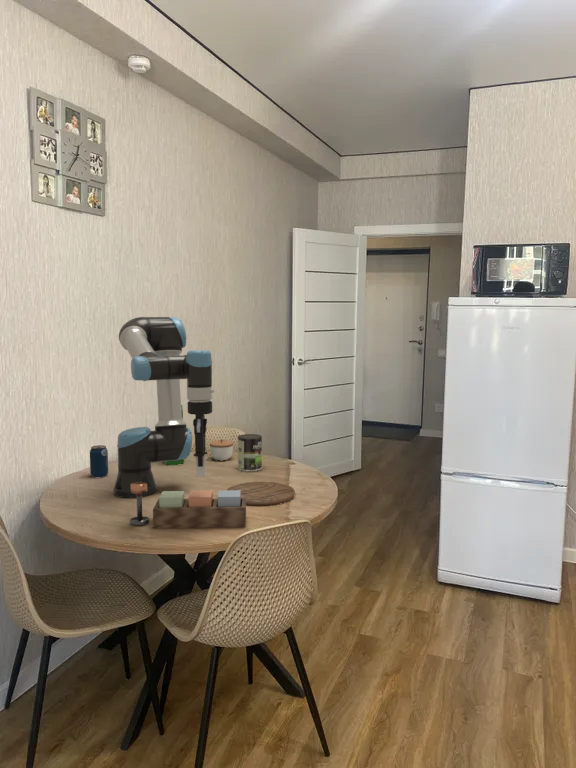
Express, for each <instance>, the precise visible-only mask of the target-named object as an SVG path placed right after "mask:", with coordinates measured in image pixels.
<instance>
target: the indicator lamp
mask: <svg viewBox="0 0 576 768" xmlns="http://www.w3.org/2000/svg"><path fill="white" fill-rule="evenodd" d="M146 492H147V483H146V482H135V483H132V484H131V493H132V494H137V497H136V516H135V517H132V518H131V519H130V520H129V525H130V526H132V527H133V526H134V527H143V526H147V525H149V524H150V522H151V521H150V517H148V516H143V497H142V494H143V493H146Z"/></svg>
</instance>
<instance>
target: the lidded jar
mask: <svg viewBox="0 0 576 768" xmlns="http://www.w3.org/2000/svg"><path fill="white" fill-rule="evenodd" d="M233 450H234V442H233V441H231V440H227V439H226V440H224V439H223V438H220V439H219V440H213V441H210V442H209V452H210V454H211V457H212V458H213V459H214V460H215V461H217V460H220V461H219V462H223V460H226V461H228V460H229V459H230V458H231V457H232V455H233V452H234V451H233Z"/></svg>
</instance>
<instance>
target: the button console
mask: <svg viewBox="0 0 576 768" xmlns="http://www.w3.org/2000/svg"><path fill="white" fill-rule="evenodd" d="M152 520H153V521H152V522H153V523H152V525H153V527H152V528H153V529H191V528H202V529H203V528H246V525H247V505H246V498H241V504H240V507H218V497H214V498H213V504H212V507H189V498H185V503H184V506H183V507H181V508H159V498H158V499H157V501H156V503H155V504H154V506H153V509H152Z"/></svg>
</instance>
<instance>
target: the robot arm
mask: <svg viewBox="0 0 576 768" xmlns="http://www.w3.org/2000/svg"><path fill="white" fill-rule="evenodd" d="M118 341H119V344H120V345H121V347H122V348H123V349H124V350H126V351H127V352H128V353H129V355H130V358H131V362H130V372H131V373H130V374H131V377H132V379H133V380H134V381H142V382H147V381H156V395H157V411H158V412H157V414H158V415H157V417H158V421H157V423H156V424H155V425H154V430H151V428H150V427H148V426H138V427H132V428H129V429H125V430H122V431H121V432H120V433H119V434H118V435H117V445H116V446H117V467H118V469H117V470H118V471H117V475H116V479H115V482H114V486H113V495H114V496H117V497H121V498H129V499H130V498H132V499H133V498H137V494H132V493H131V484H132V483H135V482H146V483H147V492H146V493H143V494H142V498H143V497H147V496H150V495H153V494H155V493H156V492H157V483H156V480H155V477H154V475H153V471H152V463H160V462H161V463H162V462H166V461H173V460H175V461H177V460H181V459H184V460H185V459H187V458H188V457H190V454H191V451H192V446H193V435H194V448H195V450H194V451H195V452H194V453H193V457H195V465H196V467H195V474H196V477H201V478H202V477H206V455H208V451H206V449H207V448H206V433H207V423H208V419H207V418H205V417H206V416H205V415H210V414H211V413H213V401H212V399H213V393H214V392H215V391H214V389H212V388H213V387H212V385H213V378H212V377H213V373H212V372H213V368H212V367H213V365H212V364H213V359H212V353H211V351H210V350H206V349H203V350H202V349H199V350H198V349H190V350H188V351H187V352H186V354H184V355H181V354H182V352H183V348H185V347H186V346H187V332H186V328H185V326H184V323H183V321H182V320H181V319H180V318H179V317H173V316H150V317H149V316H147V317H146V316H140V317H135V318H131V319H130V320H128V321H127V322H125V323H124V324H123V325H122V327H120V330H119V332H118ZM181 380H186V382H187V383H186V384H187V385H186V386H187V387H186V399H187V400H188V401H187V403H186V404H187V414H188V415H195V418H193V420H192V424H193V425H192V426H193V433H194V434H193V433H192V430H191V428H189V427H187V423H186V422H185V421H184V419H183V420H182V412H181V405H182V398H181V395H182V394H181V382H180V381H181ZM192 434H193V435H192Z"/></svg>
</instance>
